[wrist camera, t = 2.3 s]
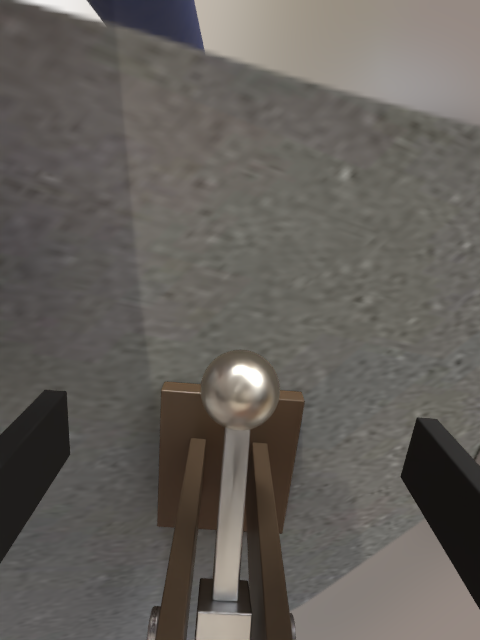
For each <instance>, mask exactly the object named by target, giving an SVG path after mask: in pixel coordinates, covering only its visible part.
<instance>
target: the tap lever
mask: <svg viewBox="0 0 480 640" xmlns="http://www.w3.org/2000/svg"><path fill="white" fill-rule="evenodd" d="M279 396H280V384H279V379H278V376H277V374H276V372H275V370H274V368H273V367H272V365H271V364H270V363H269V362H268V361H267V360H266V359H265V358H263V357H262V356H260V355H259V354H257V353H254V352H251V351H247V350H233V351H229V352H226V353H224V354H222V355H220V356H218V357H217V358H216V359H214V360H213V361H212V362H211V363H210V365H209V366H208V367H207V369H206V371H205V373H204V375H203V378H202V381H201V399H202V403H203V405H204V408H205V410H206V412H207V413H208V415H209V416H210V417H211V418H212V419H213V420H214V421H215V422H216V423H217V424H219V425H221V426H222V427H225V431H224V444H223V456H222V469H221V481H220V494H219V506H218V519H217V531H216V543H215V556H214V568H213V579H207V578H201V579H200V585H199V596H198V607H197V618H196V630H195V640H251V631H252V616H253V615H252V607H251V600H250V592H249V585H248V581H245V580H240V566H241V552H242V538H243V525H244V511H245V497H246V483H247V469H248V455H249V441H250V429H253V428H256V427H258V426H260V425H261V424H263V423H264V422H265V421H267V420H268V419H269V418H270V417H271V415H272V414H273V412H274V411H275V409H276V407H277V404H278V401H279Z"/></svg>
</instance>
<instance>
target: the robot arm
mask: <svg viewBox="0 0 480 640" xmlns="http://www.w3.org/2000/svg"><path fill="white" fill-rule="evenodd" d="M69 455H70V445H69V427H68V410H67V392H66V391H54V390H44V391H43V392H42V393H41V394H40V395H39V397H38V398H37V399H36V400H35V401H34V402H33V403H32V404H31V405H30V406H29V407H28V408H27V409H26V410H25V411H24V412H23V413H22V414H21V415H20V416H19V417H18V418H17V419H16V420H15V421H14V422H13V423H12V424H11V425H10V426H9V427H8V428H7V429H6V430H5V431H4V432H3V433H2V434H1V435H0V563H1V561H2V560H3V558H4V557H5V555H6V554H7V552H8V551H9V549H10V547H11V546H12V544H13V543H14V541H15V540H16V538H17V536H18V535H19V533H20V532H21V530H22V529H23V527H24V526H25V524H26V522H27V521H28V519H29V518H30V516H31V515H32V513H33V512H34V510H35V508H36V507H37V505H38V504H39V502H40V501H41V499H42V497H43V496H44V494H45V493H46V491H47V490H48V488H49V487H50V485H51V483H52V482H53V480H54V479H55V477H56V476H57V474H58V473H59V471H60V469H61V468H62V466H63V465H64V463H65V462H66V460H67V458H68V457H69ZM401 478H402V480H403V482H404V483H405V485H406V487H407V488H408V490H409V492H410V493H411V495H412V497H413V498H414V500H415V502H416V503H417V505H418V507H419V508H420V510H421V512H422V514H423V515H424V517H425V519H426V520H427V522H428V524H429V525H430V527H431V528H432V530H433V532H434V534H435V535H436V537H437V539H438V540H439V542H440V543H441V545H442V547H443V549H444V550H445V552H446V554H447V555H448V557H449V559H450V560H451V562H452V564H453V565H454V567H455V569H456V570H457V572H458V574H459V576H460V577H461V579H462V581H463V582H464V584H465V585H466V587H467V589H468V590H469V592H470V594H471V596H472V597H473V599H474V601H475V602H476V604H477V606H478V607H479V609H480V466H479V465H478V464H477V463H476V462H475V460H474V459H473V458H472V457H471V456H470V455H469V454H468V453H467V452H466V451H465V450H464V448H463V447H462V446H461V445H460V444H459V443H458V442H457V441H456V440H455V439H454V437H453V436H452V435H451V434H450V433H449V432H448V431H447V430H446V429H445V428H444V427H443V425H442V424H441V423H440V422H439V421H438V420H437V419H430V418H417V419H416V423H415V426H414V430H413V434H412V437H411V441H410V444H409V448H408V452H407V455H406V459H405V463H404V466H403V470H402V473H401Z"/></svg>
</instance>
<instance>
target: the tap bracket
mask: <svg viewBox="0 0 480 640" xmlns="http://www.w3.org/2000/svg"><path fill="white" fill-rule="evenodd" d="M304 402H305V401H304V398H303V395H302V392H296V391H282V390H280V396H279V401H278V404H277V407H276V409H275V411H274V412H273V414H272V415H271V417H270V418H269V419H268V420H267V421H265V422H264V423H263V424H261V425H260V426H258V427H256V428H253V429H250V441H249V455H248V469H247V483H246V497H245V511H244V525H243V531H244V532H247V543H248V569H249V592H250V600H251V607H252V615H253V616H252V631H251V640H296V633H295V623H294V618H293V615H292V613H289V605H288V597H287V590H286V582H285V575H284V567H283V560H282V552H281V545H280V537H279V534H282V532H283V526H284V520H285V514H286V508H287V503H288V497H289V491H290V485H291V479H292V473H293V467H294V461H295V455H296V450H297V444H298V438H299V432H300V426H301V420H302V414H303V408H304ZM224 431H225V427H222V426H221V425H219V424H217V423H216V422H215V421H214V420H213V419H212V418H211V417H210V416H209V415H208V413H207V412H206V410H205V408H204V405H203V403H202V399H201V384H190V383H177V382H164V385H163V387H162V390H161V416H160V450H159V484H158V519H157V526H159V527H175V530H174V535H173V541H172V546H171V552H170V558H169V563H168V569H167V575H166V580H165V586H164V591H163V597H162V603H161V606H154V607H153V608H152V611H151V616H150V621H149V627H148V634H147V640H186V637H187V628H188V618H189V609H190V600H191V591H192V581H193V572H194V563H195V553H196V544H197V535H198V529H210V530H217V519H218V506H219V494H220V481H221V469H222V456H223V444H224Z"/></svg>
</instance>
